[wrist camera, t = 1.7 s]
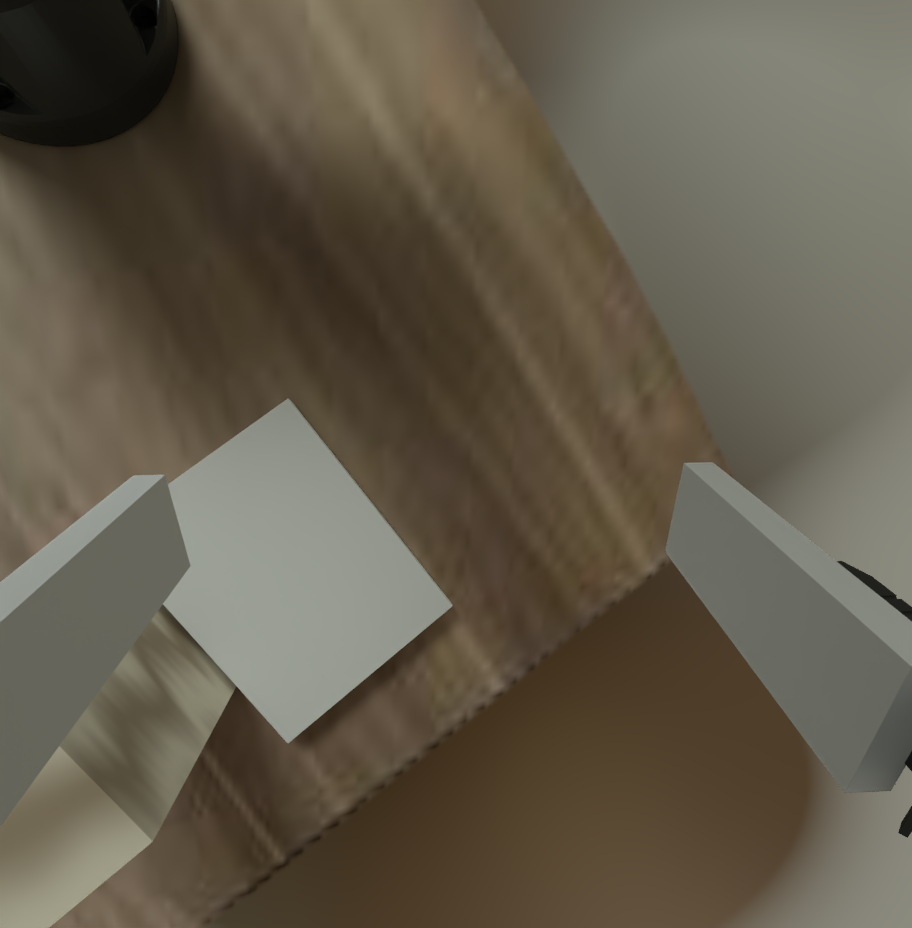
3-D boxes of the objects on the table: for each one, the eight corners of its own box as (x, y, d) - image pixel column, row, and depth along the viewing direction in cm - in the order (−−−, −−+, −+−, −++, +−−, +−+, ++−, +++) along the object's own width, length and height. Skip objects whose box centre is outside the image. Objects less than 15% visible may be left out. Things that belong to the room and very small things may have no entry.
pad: (111, 529, 32) (99, 533, 30) (291, 400, 34) (288, 398, 32) (291, 731, 34) (287, 743, 32) (449, 599, 36) (452, 605, 34)
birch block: (78, 652, 31) (-143, 807, 18) (159, 592, 32) (8, 694, 18) (162, 742, 32) (16, 954, 19) (239, 681, 33) (152, 841, 20)
